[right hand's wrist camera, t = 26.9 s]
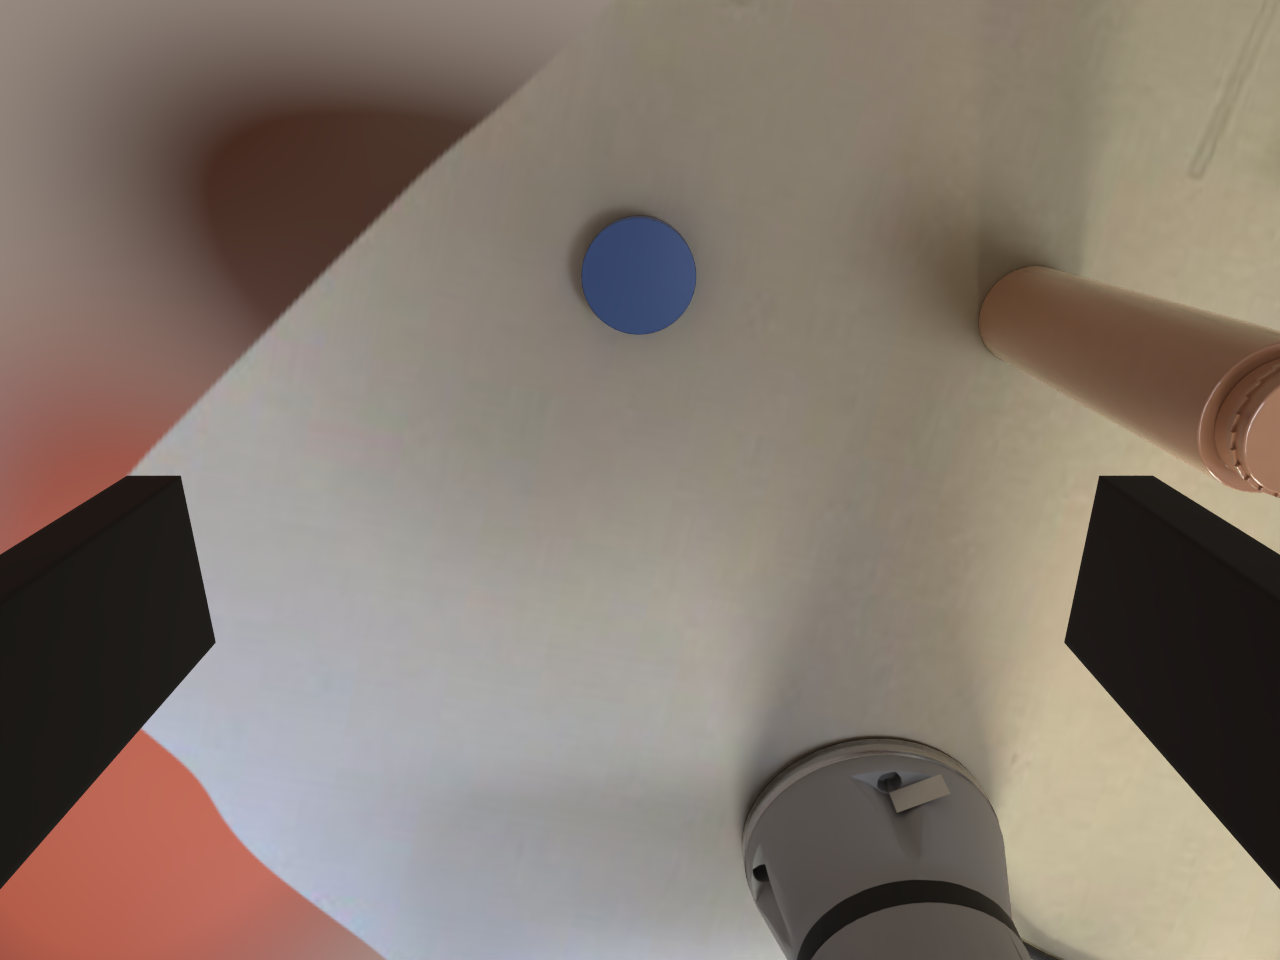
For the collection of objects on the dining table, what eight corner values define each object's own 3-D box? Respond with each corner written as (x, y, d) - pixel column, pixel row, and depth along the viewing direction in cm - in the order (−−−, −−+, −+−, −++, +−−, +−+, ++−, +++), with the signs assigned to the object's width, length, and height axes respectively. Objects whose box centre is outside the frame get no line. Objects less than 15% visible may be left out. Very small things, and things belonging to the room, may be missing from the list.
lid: (683, 336, 41) (684, 343, 39) (576, 318, 40) (574, 324, 39) (703, 225, 39) (706, 228, 37) (592, 206, 38) (590, 208, 37)
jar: (990, 261, 39) (1260, 342, 22) (1088, 270, 39) (1430, 356, 22) (969, 359, 41) (1204, 504, 24) (1062, 366, 41) (1362, 516, 24)
